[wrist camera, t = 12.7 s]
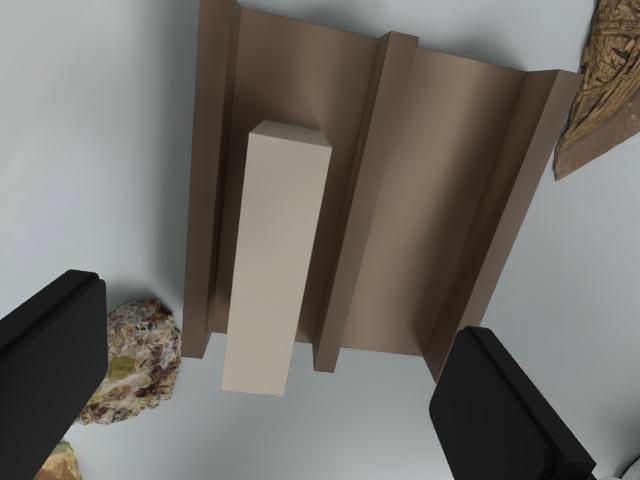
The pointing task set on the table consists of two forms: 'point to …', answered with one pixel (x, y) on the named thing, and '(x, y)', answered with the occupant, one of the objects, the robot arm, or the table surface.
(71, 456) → the shard
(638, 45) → the wooden fragment
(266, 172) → the strip
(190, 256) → the walnut rack
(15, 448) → the robot arm
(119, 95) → the table surface
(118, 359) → the mineral rock
